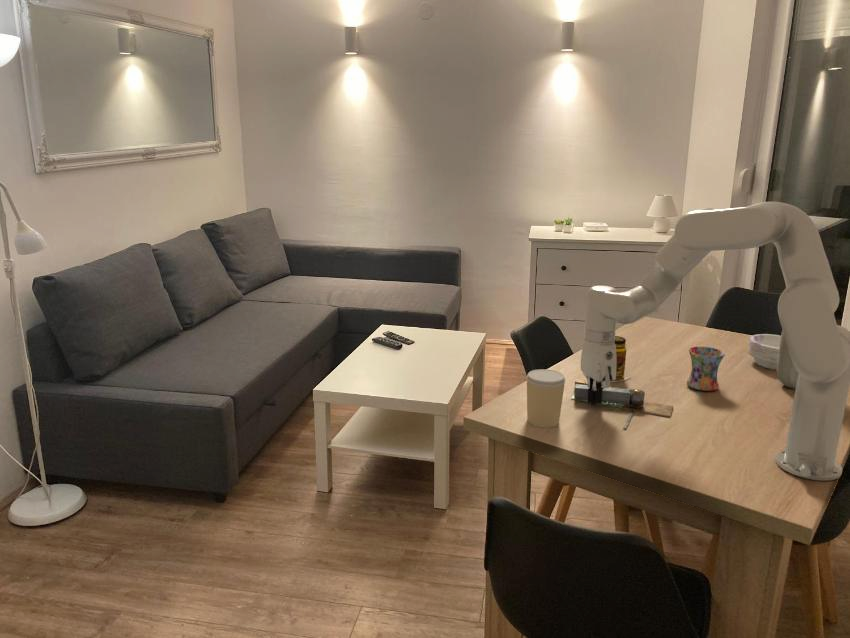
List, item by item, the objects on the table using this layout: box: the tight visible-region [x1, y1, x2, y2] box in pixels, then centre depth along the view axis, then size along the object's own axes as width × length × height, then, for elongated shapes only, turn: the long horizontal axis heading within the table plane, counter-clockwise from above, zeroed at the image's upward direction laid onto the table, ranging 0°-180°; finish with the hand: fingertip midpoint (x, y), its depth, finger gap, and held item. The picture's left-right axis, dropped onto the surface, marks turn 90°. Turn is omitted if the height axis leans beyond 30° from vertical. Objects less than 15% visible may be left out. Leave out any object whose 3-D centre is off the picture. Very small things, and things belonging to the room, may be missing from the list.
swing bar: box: [574, 384, 646, 406], centre depth 183 cm, size 18×4×4 cm, turn 76°
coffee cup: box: [526, 368, 566, 428], centre depth 171 cm, size 9×9×12 cm
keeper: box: [570, 378, 623, 409], centre depth 187 cm, size 8×14×3 cm, turn 65°
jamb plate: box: [620, 400, 674, 430], centre depth 175 cm, size 20×12×1 cm, turn 155°
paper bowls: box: [747, 333, 781, 371], centre depth 214 cm, size 15×15×8 cm
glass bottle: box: [776, 330, 799, 390], centre depth 193 cm, size 10×10×28 cm
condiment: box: [610, 335, 630, 384], centre depth 202 cm, size 7×8×12 cm
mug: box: [686, 346, 726, 392], centre depth 196 cm, size 12×9×11 cm
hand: (594, 402), depth 181 cm, fingers closed
